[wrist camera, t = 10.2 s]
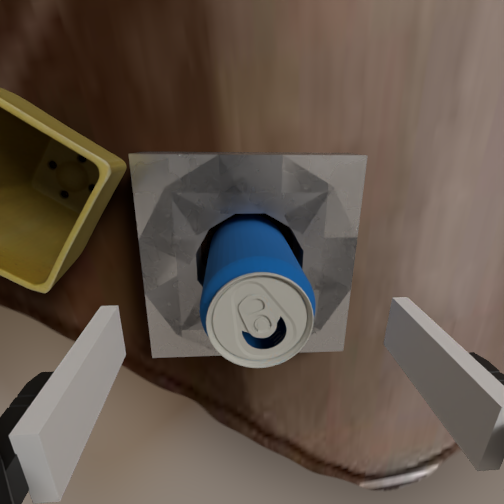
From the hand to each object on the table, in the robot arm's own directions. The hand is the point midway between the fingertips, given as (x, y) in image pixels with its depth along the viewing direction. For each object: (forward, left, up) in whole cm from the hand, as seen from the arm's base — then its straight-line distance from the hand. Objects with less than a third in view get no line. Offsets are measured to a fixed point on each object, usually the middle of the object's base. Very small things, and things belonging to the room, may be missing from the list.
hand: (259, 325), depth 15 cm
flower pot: (-13, +6, -13) cm, 20 cm away
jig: (0, 0, -13) cm, 13 cm away
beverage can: (0, 0, -13) cm, 13 cm away
